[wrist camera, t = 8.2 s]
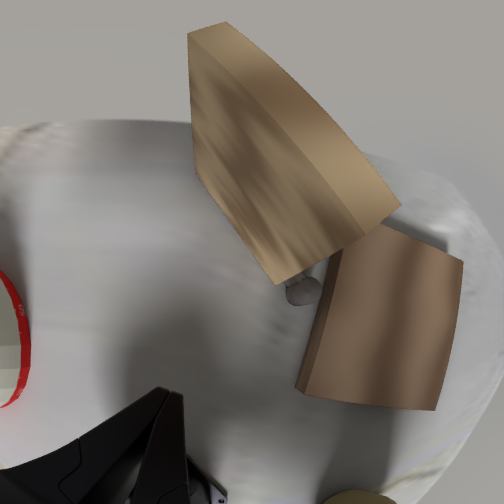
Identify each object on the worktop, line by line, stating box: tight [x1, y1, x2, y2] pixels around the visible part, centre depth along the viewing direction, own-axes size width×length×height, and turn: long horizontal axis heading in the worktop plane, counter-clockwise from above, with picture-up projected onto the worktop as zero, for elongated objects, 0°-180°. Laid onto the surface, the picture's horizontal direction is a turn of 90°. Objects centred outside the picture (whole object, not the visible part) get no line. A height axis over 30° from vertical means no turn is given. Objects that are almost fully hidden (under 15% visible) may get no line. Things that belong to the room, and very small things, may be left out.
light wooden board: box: [187, 22, 401, 306], centre depth 16 cm, size 13×2×14 cm, turn 35°
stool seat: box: [295, 224, 463, 411], centre depth 22 cm, size 13×14×2 cm
